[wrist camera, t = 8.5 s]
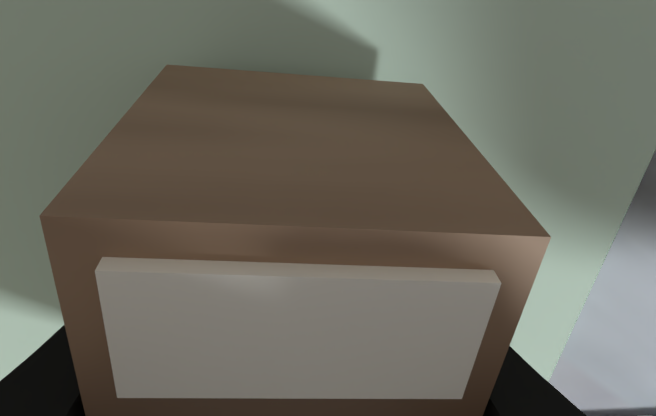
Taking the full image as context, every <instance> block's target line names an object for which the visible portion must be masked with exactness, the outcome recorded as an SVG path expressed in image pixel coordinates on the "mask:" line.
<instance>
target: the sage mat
mask: <svg viewBox="0 0 656 416" xmlns="http://www.w3.org/2000/svg"><path fill="white" fill-rule="evenodd" d="M166 65H180V66H193V67H206V68H220V69H233V70H246V71H259V72H273V73H286V74H299V75H312V76H326V77H339V78H352V79H365V80H378V81H392V82H405V83H418V84H423V85H424V86H425V87H426V88H427V89H428V90H429V92H430V93H431V94H432V95H433V96H434V98H435V99H436V100H437V101H438V102H439V104H440V105H441V106H442V107H443V108H444V110H445V111H446V112H447V113H448V114H449V116H450V117H451V118H452V119H453V120H454V122H455V123H456V124H457V125H458V126H459V128H460V129H461V130H462V131H463V132H464V133H465V135H466V136H467V137H468V138H469V139H470V141H471V142H472V143H473V144H474V145H475V147H476V148H477V149H478V150H479V151H480V153H481V154H482V155H483V156H484V157H485V159H486V160H487V161H488V162H489V163H490V165H491V166H492V167H493V168H494V169H495V171H496V172H497V173H498V174H499V175H500V176H501V178H502V179H503V180H504V181H505V182H506V184H507V185H508V186H509V187H510V188H511V190H512V191H513V192H514V193H515V194H516V196H517V197H518V198H519V199H520V200H521V202H522V203H523V204H524V205H525V206H526V208H527V209H528V210H529V211H530V212H531V213H532V215H533V216H534V217H535V218H536V219H537V221H538V222H539V223H540V224H541V225H542V227H543V228H544V229H545V230H546V231H547V233H548V234H549V235H550V236H551V239H550V242H549V244H548V247H547V249H546V252H545V255H544V257H543V260H542V262H541V265H540V268H539V270H538V273H537V275H536V278H535V281H534V283H533V286H532V288H531V291H530V294H529V296H528V299H527V301H526V304H525V307H524V309H523V312H522V315H521V317H520V320H519V322H518V325H517V328H516V330H515V333H514V335H513V338H512V341H511V343H510V347H511V348H512V349H514V350H515V351H516V352H517V353H518V354H519V355H520V356H521V357H522V358H523V359H524V360H525V361H526V362H527V363H528V364H529V365H530V366H531V367H532V368H533V369H534V370H536V371H537V372H538V373H539V374H540V375H541V376H542V377H543V378H544V379H545V380H546V381H549V379H550V377H551V375H552V373H553V371H554V368H555V366H556V364H557V362H558V360H559V358H560V355H561V353H562V351H563V349H564V347H565V345H566V343H567V340H568V338H569V336H570V334H571V332H572V330H573V327H574V325H575V323H576V321H577V319H578V317H579V314H580V312H581V310H582V308H583V306H584V304H585V301H586V299H587V297H588V295H589V293H590V291H591V288H592V286H593V284H594V282H595V280H596V278H597V275H598V273H599V271H600V269H601V267H602V265H603V262H604V260H605V258H606V256H607V254H608V252H609V249H610V247H611V245H612V243H613V241H614V239H615V236H616V234H617V232H618V230H619V228H620V226H621V223H622V221H623V219H624V217H625V215H626V213H627V210H628V208H629V206H630V204H631V202H632V200H633V197H634V195H635V193H636V191H637V189H638V187H639V184H640V182H641V180H642V178H643V176H644V174H645V172H646V169H647V167H648V165H649V163H650V161H651V159H652V156H653V154H654V152H655V150H656V0H0V381H1V380H2V379H3V378H4V377H6V376H7V375H8V374H9V373H10V372H11V371H13V370H14V369H15V368H16V367H17V366H19V365H20V364H21V363H22V362H23V361H25V360H26V359H27V358H28V357H29V356H30V355H31V354H33V353H34V352H35V351H36V350H37V349H38V348H39V347H40V346H42V345H43V344H44V343H45V342H46V341H47V340H48V339H49V338H50V337H51V336H52V335H54V334H55V333H56V332H57V331H58V330H59V329H60V328H61V327H62V326H63V325H64V321H63V316H62V312H61V308H60V303H59V299H58V295H57V290H56V286H55V282H54V277H53V273H52V269H51V264H50V260H49V256H48V251H47V247H46V243H45V238H44V234H43V230H42V225H41V221H40V217H39V215H40V214H41V213H42V212H43V211H44V210H45V208H46V207H47V206H48V205H49V204H50V202H51V201H52V200H53V199H54V198H55V197H56V195H57V194H58V193H59V192H60V191H61V189H62V188H63V187H64V186H65V185H66V183H67V182H68V181H69V180H70V179H71V178H72V176H73V175H74V174H75V173H76V172H77V170H78V169H79V168H80V167H81V166H82V164H83V163H84V162H85V161H86V160H87V159H88V157H89V156H90V155H91V154H92V153H93V151H94V150H95V149H96V148H97V147H98V145H99V144H100V143H101V142H102V141H103V140H104V138H105V137H106V136H107V135H108V134H109V132H110V131H111V130H112V129H113V128H114V126H115V125H116V124H117V123H118V122H119V121H120V119H121V118H122V117H123V116H124V115H125V113H126V112H127V111H128V110H129V109H130V107H131V106H132V105H133V104H134V103H135V102H136V100H137V99H138V98H139V97H140V96H141V94H142V93H143V92H144V91H145V90H146V89H147V87H148V86H149V85H150V84H151V83H152V81H153V80H154V79H155V78H156V77H157V75H158V74H159V73H160V72H161V71H162V70H163V68H164V67H165V66H166Z"/></svg>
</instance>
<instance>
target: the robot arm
mask: <svg viewBox="0 0 656 416" xmlns="http://www.w3.org/2000/svg"><path fill="white" fill-rule="evenodd" d="M0 416H85V412H84V407H83V403H82V399H81V394H80V390H79V386H78V381H77V377H76V373H75V368H74V364H73V360H72V355H71V351H70V347H69V342H68V338H67V334H66V329H65V325H63V326H62V327H61V328H60V329H59V330H58V331H57V332H56V333H55V334H54V335H52V336H51V337H50V338H49V339H48V340H47V341H46V342H45V343H44V344H43V345H42V346H40V347H39V348H38V349H37V350H36V351H35V352H34V353H33V354H31V355H30V356H29V357H28V358H27V359H26V360H25V361H23V362H22V363H21V364H20V365H19V366H17V367H16V368H15V369H14V370H13V371H11V372H10V373H9V374H8V375H7V376H6V377H4V378H3V379H2V380H1V381H0ZM483 416H586V415H585V414H584V413H583V412H582V411H580V410H579V409H578V408H577V407H576V406H574V405H573V404H572V403H571V402H570V401H569V400H568V399H567V398H565V397H564V396H563V395H562V394H561V393H560V392H559V391H558V390H557V389H555V388H554V387H553V386H552V385H551V384H550V383H549V382H548V381H546V380H545V379H544V378H543V377H542V376H541V375H540V374H539V373H538V372H537V371H536V370H534V369H533V368H532V367H531V366H530V365H529V364H528V363H527V362H526V361H525V360H524V359H523V358H522V357H521V356H520V355H519V354H518V353H517V352H516V351H515V350H514V349H512V348H511V347H510V346H509V348H508V351H507V354H506V356H505V359H504V361H503V364H502V367H501V369H500V372H499V374H498V377H497V380H496V382H495V385H494V387H493V390H492V393H491V395H490V398H489V401H488V403H487V406H486V408H485V411H484V414H483Z"/></svg>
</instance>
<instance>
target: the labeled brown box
mask: <svg viewBox="0 0 656 416" xmlns="http://www.w3.org/2000/svg"><path fill="white" fill-rule="evenodd" d="M39 217H40V221H41V225H42V230H43V234H44V238H45V243H46V247H47V251H48V256H49V260H50V264H51V269H52V273H53V277H54V282H55V286H56V290H57V295H58V299H59V303H60V308H61V312H62V316H63V321H64V325H65V329H66V334H67V338H68V342H69V347H70V351H71V355H72V360H73V364H74V368H75V373H76V377H77V381H78V386H79V390H80V394H81V399H82V403H83V407H84V412H85V416H483V414H484V411H485V408H486V406H487V403H488V401H489V398H490V395H491V393H492V390H493V387H494V385H495V382H496V380H497V377H498V374H499V372H500V369H501V367H502V364H503V361H504V359H505V356H506V354H507V351H508V348H509V346H510V343H511V341H512V338H513V335H514V333H515V330H516V328H517V325H518V322H519V320H520V317H521V315H522V312H523V309H524V307H525V304H526V301H527V299H528V296H529V294H530V291H531V288H532V286H533V283H534V281H535V278H536V275H537V273H538V270H539V268H540V265H541V262H542V260H543V257H544V255H545V252H546V249H547V247H548V244H549V242H550V239H551V236H550V235H549V234H548V233H547V231H546V230H545V229H544V228H543V227H542V225H541V224H540V223H539V222H538V221H537V219H536V218H535V217H534V216H533V215H532V213H531V212H530V211H529V210H528V209H527V208H526V206H525V205H524V204H523V203H522V202H521V200H520V199H519V198H518V197H517V196H516V194H515V193H514V192H513V191H512V190H511V188H510V187H509V186H508V185H507V184H506V182H505V181H504V180H503V179H502V178H501V176H500V175H499V174H498V173H497V172H496V171H495V169H494V168H493V167H492V166H491V165H490V163H489V162H488V161H487V160H486V159H485V157H484V156H483V155H482V154H481V153H480V151H479V150H478V149H477V148H476V147H475V145H474V144H473V143H472V142H471V141H470V139H469V138H468V137H467V136H466V135H465V133H464V132H463V131H462V130H461V129H460V128H459V126H458V125H457V124H456V123H455V122H454V120H453V119H452V118H451V117H450V116H449V114H448V113H447V112H446V111H445V110H444V108H443V107H442V106H441V105H440V104H439V102H438V101H437V100H436V99H435V98H434V96H433V95H432V94H431V93H430V92H429V90H428V89H427V88H426V87H425V86H424V85H423V84H418V83H405V82H392V81H378V80H365V79H352V78H339V77H326V76H312V75H299V74H286V73H273V72H259V71H246V70H233V69H220V68H206V67H193V66H180V65H166V66H165V67H164V68H163V70H162V71H161V72H160V73H159V74H158V75H157V77H156V78H155V79H154V80H153V81H152V83H151V84H150V85H149V86H148V87H147V89H146V90H145V91H144V92H143V93H142V94H141V96H140V97H139V98H138V99H137V100H136V102H135V103H134V104H133V105H132V106H131V107H130V109H129V110H128V111H127V112H126V113H125V115H124V116H123V117H122V118H121V119H120V121H119V122H118V123H117V124H116V125H115V126H114V128H113V129H112V130H111V131H110V132H109V134H108V135H107V136H106V137H105V138H104V140H103V141H102V142H101V143H100V144H99V145H98V147H97V148H96V149H95V150H94V151H93V153H92V154H91V155H90V156H89V157H88V159H87V160H86V161H85V162H84V163H83V164H82V166H81V167H80V168H79V169H78V170H77V172H76V173H75V174H74V175H73V176H72V178H71V179H70V180H69V181H68V182H67V183H66V185H65V186H64V187H63V188H62V189H61V191H60V192H59V193H58V194H57V195H56V197H55V198H54V199H53V200H52V201H51V202H50V204H49V205H48V206H47V207H46V208H45V210H44V211H43V212H42V213H41V214H40V215H39Z"/></svg>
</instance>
